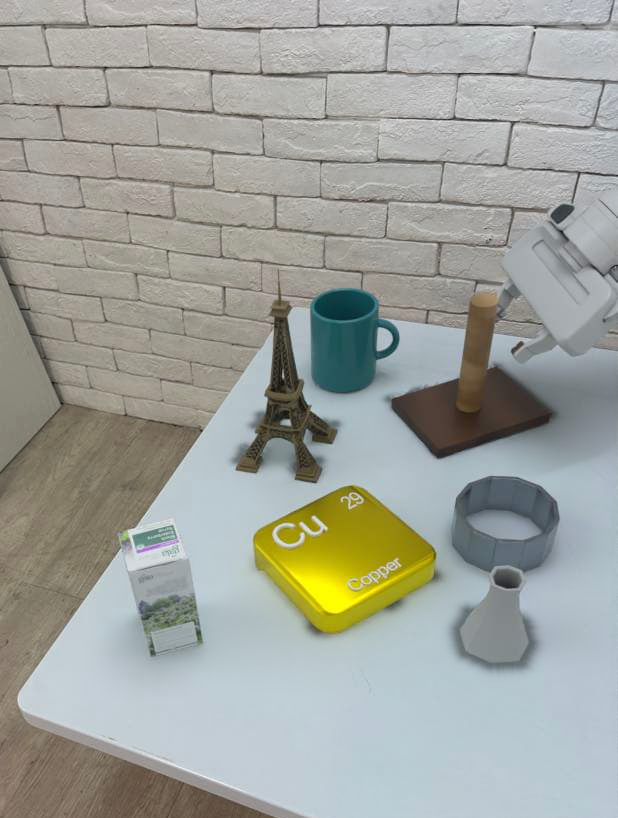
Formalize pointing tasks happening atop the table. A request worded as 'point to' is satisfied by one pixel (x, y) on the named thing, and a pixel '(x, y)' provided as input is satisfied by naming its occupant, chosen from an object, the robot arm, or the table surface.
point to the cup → (346, 339)
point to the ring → (514, 498)
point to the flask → (498, 619)
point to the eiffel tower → (286, 405)
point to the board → (469, 414)
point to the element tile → (343, 558)
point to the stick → (476, 351)
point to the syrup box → (162, 586)
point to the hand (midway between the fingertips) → (501, 337)
